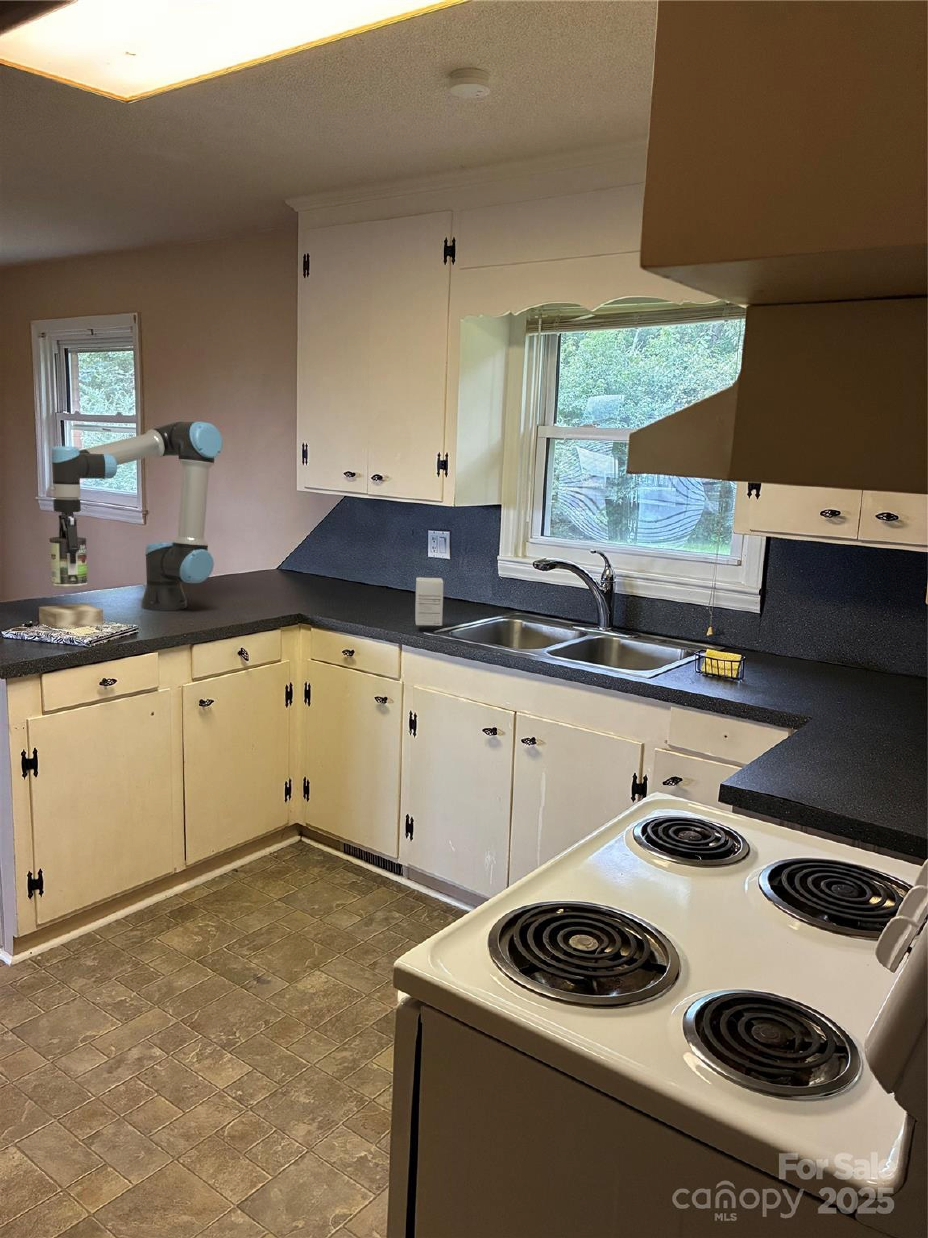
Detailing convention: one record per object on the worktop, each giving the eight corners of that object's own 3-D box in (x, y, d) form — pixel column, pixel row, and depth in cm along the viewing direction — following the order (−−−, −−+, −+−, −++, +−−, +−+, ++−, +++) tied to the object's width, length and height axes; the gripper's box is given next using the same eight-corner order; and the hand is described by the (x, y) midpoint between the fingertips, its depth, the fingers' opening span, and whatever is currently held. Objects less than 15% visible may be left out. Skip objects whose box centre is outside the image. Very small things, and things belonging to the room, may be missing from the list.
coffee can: (94, 583, 288) (93, 537, 286) (74, 587, 278) (73, 540, 276) (64, 581, 290) (63, 535, 288) (43, 585, 280) (42, 538, 278)
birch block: (85, 622, 297) (84, 603, 296) (103, 629, 287) (103, 609, 286) (39, 626, 287) (38, 607, 286) (56, 633, 277) (56, 613, 276)
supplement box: (414, 620, 319) (415, 577, 316) (440, 621, 320) (442, 577, 317) (415, 625, 310) (416, 580, 307) (442, 626, 311) (444, 581, 308)
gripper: (46, 496, 287) (49, 568, 291) (60, 500, 269) (63, 577, 272) (72, 496, 291) (74, 567, 295) (88, 500, 273) (90, 576, 277)
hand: (69, 572), depth 284 cm, fingers closed on coffee can, 10 cm apart
